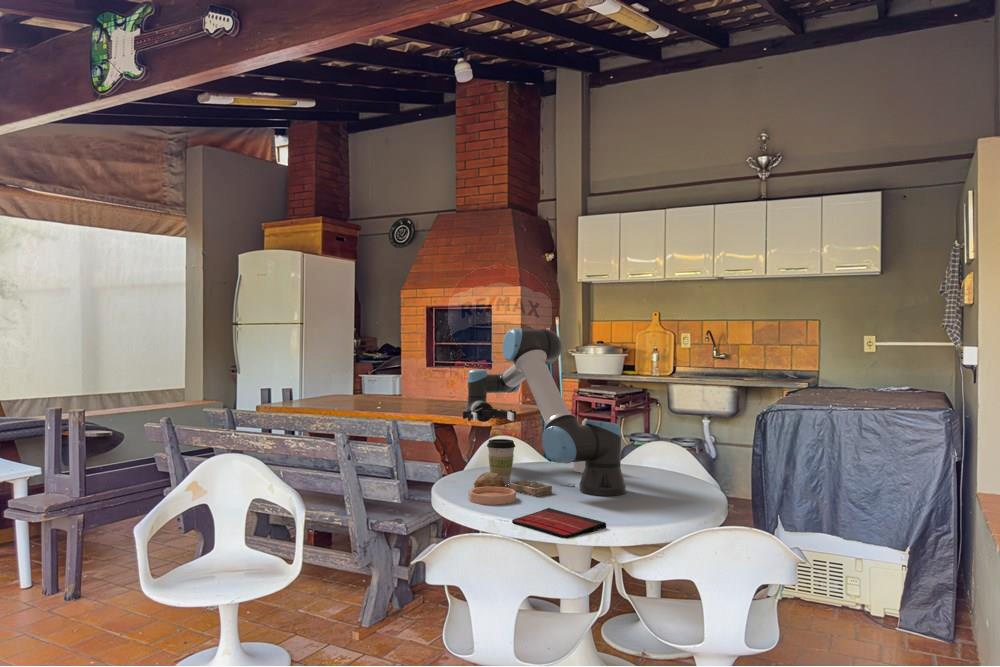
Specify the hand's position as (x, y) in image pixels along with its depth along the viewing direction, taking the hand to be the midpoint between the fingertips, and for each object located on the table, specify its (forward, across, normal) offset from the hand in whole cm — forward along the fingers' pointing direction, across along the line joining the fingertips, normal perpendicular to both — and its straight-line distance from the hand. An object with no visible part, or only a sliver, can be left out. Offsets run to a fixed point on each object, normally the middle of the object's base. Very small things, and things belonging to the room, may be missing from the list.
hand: (494, 417), depth 248 cm
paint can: (-9, -38, -22) cm, 45 cm away
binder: (+66, -2, -22) cm, 69 cm away
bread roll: (+19, +6, -22) cm, 30 cm away
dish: (+32, +8, -22) cm, 40 cm away
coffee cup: (+10, 0, -22) cm, 24 cm away
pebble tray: (+24, -7, -22) cm, 33 cm away
